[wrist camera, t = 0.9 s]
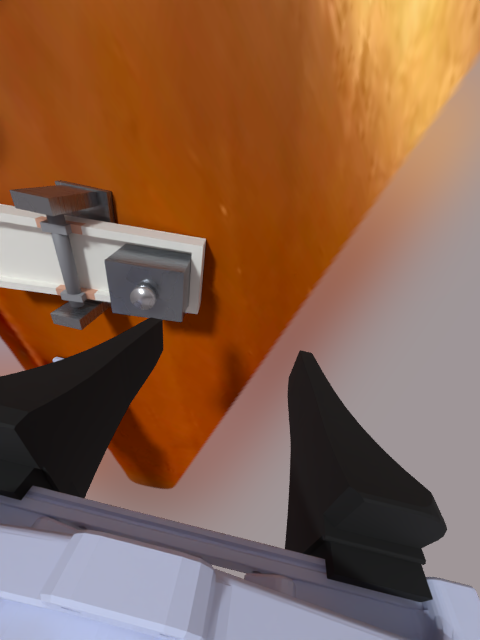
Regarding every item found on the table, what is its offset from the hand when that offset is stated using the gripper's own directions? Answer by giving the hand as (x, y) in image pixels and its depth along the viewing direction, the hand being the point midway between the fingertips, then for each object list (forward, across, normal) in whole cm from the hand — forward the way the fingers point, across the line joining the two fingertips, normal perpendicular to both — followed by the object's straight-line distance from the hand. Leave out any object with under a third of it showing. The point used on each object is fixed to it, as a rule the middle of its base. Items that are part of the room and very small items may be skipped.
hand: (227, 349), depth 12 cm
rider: (+8, +7, 0) cm, 11 cm away
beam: (+8, +14, 0) cm, 16 cm away
